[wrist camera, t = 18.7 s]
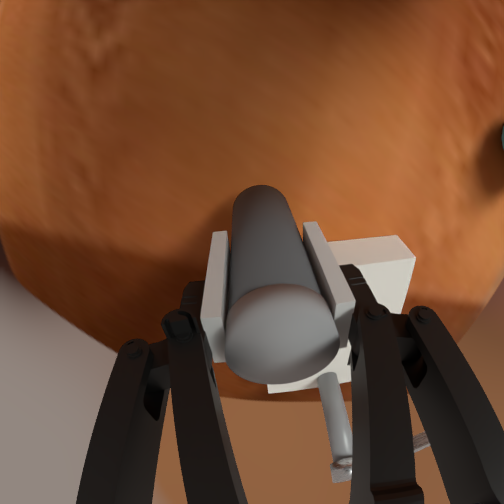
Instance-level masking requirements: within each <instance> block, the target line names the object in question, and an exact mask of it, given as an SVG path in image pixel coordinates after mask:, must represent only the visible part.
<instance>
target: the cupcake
mask: <svg viewBox="0 0 504 504" xmlns="http://www.w3.org/2000/svg"><path fill="white" fill-rule="evenodd" d="M502 145H503V149H504V126H503V130H502Z"/></svg>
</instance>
